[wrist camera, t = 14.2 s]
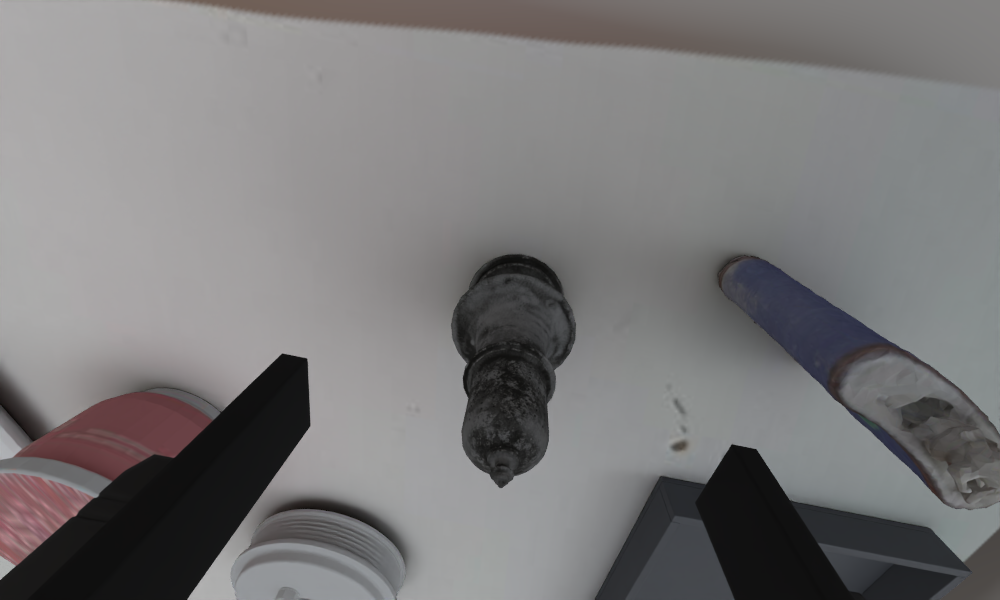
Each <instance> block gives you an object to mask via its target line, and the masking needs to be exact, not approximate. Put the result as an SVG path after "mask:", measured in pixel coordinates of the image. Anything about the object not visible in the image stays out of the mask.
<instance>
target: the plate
mask: <svg viewBox="0 0 1000 600" xmlns="http://www.w3.org/2000/svg"><path fill="white" fill-rule="evenodd" d="M31 443H33V441H32V439H31V438H30V437H29V436H28V435H27V434H26V433H25V432H24V430H23V429H22V428H21V427H20V426H19V425H18V424H17V423H16V422H15V420H14V419H13V418H12V417H11V416H10V415H9V414H8V413H7V411H6V410H5V409H4V408H3V407H2V406H1V405H0V460H2V459H8V458H13V457H14V456H15V455H16V454H17V453H18V452H19V451H20V450H22V449H23V448H24V447H26V446H28V445H29V444H31Z"/></svg>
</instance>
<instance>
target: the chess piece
mask: <svg viewBox="0 0 1000 600" xmlns="http://www.w3.org/2000/svg"><path fill="white" fill-rule="evenodd" d="M451 328H452V337H453V341H454V343H455V346H456V348H457V351H458V352H459V354H460V355H461V356H462V358H463V359H464V360H465V362H466V363H467V365H466V366H465V371H464V375H463V385H464V389H465V392H466V394H467V397H468V398H469V399H468V403H467V408H466V413H465V417H464V422H463V427H462V431H461V432H462V444H463V448H464V451H465V453H466V455H467V456H468V458H469V459H470V460H471V461H472V462H473V464H474V465H475V466H476V467H478V468H479V469H480V470H482V471H483V472H486V473H488V474H490V476H491V479H492V480H494V482H495V483H496V484H497V485H498V487H499V488H503V487H504V486H505V485H507V484H508V482H510V481H511V480H513V477H514V476H517V475H520V474H523V473H525V472H527V471H529V470H530V469H532V468H533V467H534V466H535V465H537V464H538V463H539V461H540V460H541V459H542V458H543V457H544V454H545V452H546V449H547V446H548V441H549V427H548V411H547V403H548V402H549V401H550V399H551V398H552V396H553V393H554V391H555V386H556V376H555V373H554V370H555V369H556V368H557V367H559V366H560V365H561V364H562V363H563V362H564V360H565V359H566V358H567V356H568V355H569V353H570V352H571V349H572V346H573V344H574V341H575V332H576V323H575V320H574V316H573V312H572V309H571V307H570V306H569V304H568V302H567V301H566V299H565V297H564V294H563V290H562V287H561V283H560V281H559V279H558V278H557V276H556V274H555V273H554V272H553V271H552V270H551V269H550V268H549V267H548V266H547V265H546V264H545V263H543V262H541V261H539V260H537V259H535V258H533V257H529V256H525V255H505V256H501V257H498V258H495V259H493V260H491V261H490V262H488V263H486V264H484V265H483V266H482V267H481V268H480V270H479V271H478V272H477V273H476V274H475V276H474V278H473V280H472V281H471V283H470V287H469V290H468V291H467V292H466V293H465V294H464V295H463V296H462V297H461V299H460V300H459V302H458V304H457V306H456V308H455V310H454V313H453V318H452V323H451Z"/></svg>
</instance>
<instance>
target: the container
mask: <svg viewBox="0 0 1000 600" xmlns="http://www.w3.org/2000/svg"><path fill="white" fill-rule="evenodd" d="M219 414H220V412H219V411H218V410H217V409H216V408H214V407H213V406H212V405H211V404H209V403H207V402H206V401H204V400H202V399H201V398H199V397H197V396H194V395H192V394H190V393H187V392H184V391H180V390H176V389H169V388H155V389H150V390H147V391H144V392H134V393H129V394H124V395H121V396H118V397H114V398H111V399H107V400H104V401H101V402H99V403H97V404H95V405H93V406H91V407H90V408H88V409H87V410H85V411H83V412H82V413H80V414H78V415H77V416H75V417H73V418H72V419H70V420H69V421H67V422H65V423H64V424H62V425H60V426H59V427H57V428H55V429H54V430H52V431H51V432H49V433H47V434H46V435H44V436H42V437H41V438H39V439H37V440H36V441H34V442H33V443H31V444H29V445H28V446H26V447H24V448H23V449H22V450H20V451H19V452H18V453H17V454H16V455H15V456H14V457H13V458H8V459H2V460H0V556H2V557H3V558H5V559H6V560H8V561H9V562H11V563H12V564H14V565H16V566H17V565H18V564H19V563H20V562H21V561H22V560H24V559H25V558H26V557H27V556H28V555H29V554H30V553H32V552H33V551H34V550H35V549H36V548H37V547H38V546H40V545H41V544H42V543H43V542H44V541H45V540H46V539H48V538H49V537H50V536H51V535H52V534H53V533H54V532H55V531H57V530H58V529H59V528H60V527H61V526H62V525H63V524H65V523H66V522H67V521H68V520H69V519H70V518H71V517H75V516H76V515H77V514H78V511H79V510H81V509H82V508H83V507H84V506H85V505H86V504H87V503H88V502H90V501H91V500H92V499H93V498H94V497H95V498H96V497H98V496H99V493H100V492H101V491H102V490H103V489H104V488H106V487H107V486H108V485H109V484H110V483H111V482H112V481H113V480H115V479H116V478H117V477H118V476H119V475H120V474H121V473H123V472H124V471H125V470H127V469H129V468H130V467H132V466H134V465H136V464H138V463H139V462H141V461H143V460H145V459H146V458H148V457H150V456H152V455H154V454H157V455H162V456H167V457H172V458H174V457H176V456H177V455H178V454H179V453H180V452H181V451H182V450H183V449H184V448H185V447H186V446H187V445H188V444H189V443H190V442H191V441H192V440H193V439H194V438H195V437H196V436H197V435H198V434H199V433H200V432H201V431H202V430H204V429H205V428H206V427H207V426H208V425H209V424H210V423H211V422H212V421H213V420H214V419H215V418H216V417H217V416H218V415H219Z"/></svg>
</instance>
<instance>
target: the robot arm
mask: <svg viewBox="0 0 1000 600" xmlns="http://www.w3.org/2000/svg"><path fill="white" fill-rule="evenodd" d="M309 427H310V405H309V383H308V362H307V358H302V357H297V356H292V355H287V354H281V355H280V356H279V357H278V358H277V359H276V360H275V361H274V362H273V363H272V364H271V365H270V366H269V367H268V368H267V369H266V370H265V371H264V372H263V373H262V374H261V375H260V376H259V377H257V378H256V379H255V380H254V381H253V382H252V383H251V384H250V385H249V386H248V387H247V388H246V389H245V390H244V391H243V392H242V393H241V394H240V395H239V396H238V397H237V398H236V399H235V400H234V401H233V402H232V403H231V404H229V405H228V406H227V407H226V408H225V409H224V410H223V411H222V412H221V413H220V414H219V415H218V416H217V417H216V418H215V419H214V420H213V421H212V422H211V423H210V424H209V425H208V426H207V427H206V428H205V429H204V430H202V431H201V432H200V433H199V434H198V435H197V436H196V437H195V438H194V439H193V440H192V441H191V442H190V443H189V444H188V445H187V446H186V447H185V448H184V449H183V450H182V451H181V452H180V453H179V454H178V455H177V456H176V457H174V458H172V457H167V456H162V455H157V454H154V455H152V456H150V457H148V458H146V459H145V460H143V461H141V462H139V463H138V464H136V465H134V466H132V467H130V468H129V469H127V470H125V471H124V472H123V473H121V474H120V475H119V476H118V477H117V478H116V479H115V480H113V481H112V482H111V483H110V484H109V485H108V486H107V487H106V488H104V489H103V490H102V491H101V492H100V493H99V496H98V497H96V498H95V497H94V498H93V499H92V500H91V501H90V502H88V503H87V504H86V505H85V506H84V507H83V508H82V509H81V510H79V511H78V514H77V515H76V516H75V517H71V518H70V519H69V520H68V521H67V522H66V523H65V524H63V525H62V526H61V527H60V528H59V529H58V530H57V531H55V532H54V533H53V534H52V535H51V536H50V537H49V538H48V539H46V540H45V541H44V542H43V543H42V544H41V545H40V546H38V547H37V548H36V549H35V550H34V551H33V552H32V553H30V554H29V555H28V556H27V557H26V558H25V559H24V560H22V561H21V562H20V563H19V564H18V565H17V566H16V567H15V568H13V569H12V570H11V571H10V572H9V573H8V574H7V575H5V576H4V577H3V578H2V579H1V580H0V600H187V599H188V597H189V596H190V594H191V593H192V592H193V590H194V589H195V587H196V586H197V585H198V583H199V582H200V580H201V579H202V578H203V576H204V575H205V573H206V572H207V571H208V569H209V568H210V566H211V565H212V563H213V562H214V561H215V559H216V558H217V556H218V555H219V554H220V552H221V551H222V549H223V548H224V547H225V545H226V544H227V542H228V541H229V540H230V538H231V537H232V535H233V534H234V533H235V531H236V530H237V528H238V527H239V525H240V524H241V523H242V521H243V520H244V518H245V517H246V516H247V514H248V513H249V511H250V510H251V509H252V507H253V506H254V504H255V503H256V502H257V500H258V499H259V497H260V496H261V495H262V493H263V492H264V490H265V489H266V488H267V486H268V485H269V483H270V482H271V480H272V479H273V478H274V476H275V475H276V473H277V472H278V471H279V469H280V468H281V466H282V465H283V464H284V462H285V461H286V459H287V458H288V457H289V455H290V454H291V452H292V451H293V450H294V448H295V447H296V445H297V444H298V442H299V441H300V440H301V438H302V437H303V435H304V434H305V433H306V431H307V430H308V428H309ZM695 504H696V506H697V509H698V511H699V514H700V516H701V519H702V521H703V524H704V526H705V528H706V531H707V533H708V536H709V538H710V541H711V543H712V546H713V548H714V550H715V553H716V555H717V558H718V560H719V563H720V565H721V568H722V570H723V573H724V575H725V577H726V580H727V582H728V585H729V587H730V590H731V592H732V595H733V597H734V599H735V600H866V599H865V598H864V597H863V596H862V595H861V594H860V593H858V592H853V591H849V590H848V589H847V587H846V586H845V584H844V583H843V581H842V580H841V578H840V577H839V575H838V573H837V572H836V570H835V569H834V567H833V566H832V564H831V563H830V561H829V560H828V558H827V557H826V555H825V554H824V552H823V551H822V549H821V547H820V546H819V544H818V543H817V541H816V540H815V538H814V537H813V535H812V534H811V532H810V531H809V529H808V528H807V526H806V524H805V523H804V521H803V520H802V518H801V517H800V515H799V514H798V512H797V511H796V509H795V508H794V506H793V505H792V503H791V502H790V500H789V498H788V497H787V495H786V494H785V492H784V491H783V489H782V488H781V486H780V485H779V483H778V482H777V480H776V479H775V477H774V476H773V474H772V472H771V471H770V469H769V468H768V466H767V465H766V463H765V462H764V460H763V459H762V457H761V456H760V454H759V453H758V451H757V450H756V449H752V448H747V447H742V446H738V445H733V444H732V445H731V447H730V448H729V450H728V451H727V453H726V454H725V456H724V458H723V459H722V461H721V462H720V464H719V466H718V467H717V469H716V470H715V472H714V473H713V475H712V477H711V478H710V480H709V481H708V483H707V484H706V486H705V488H704V489H703V491H702V492H701V494H700V496H699V497H698V499H697V500H696V502H695Z"/></svg>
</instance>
